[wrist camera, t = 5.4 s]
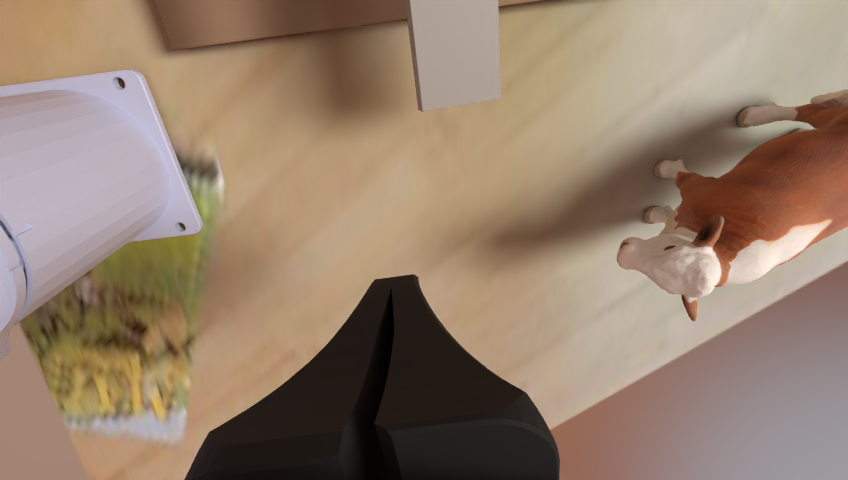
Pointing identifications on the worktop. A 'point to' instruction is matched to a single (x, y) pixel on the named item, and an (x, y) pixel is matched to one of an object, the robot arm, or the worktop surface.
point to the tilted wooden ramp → (454, 51)
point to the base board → (271, 18)
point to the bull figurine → (750, 205)
